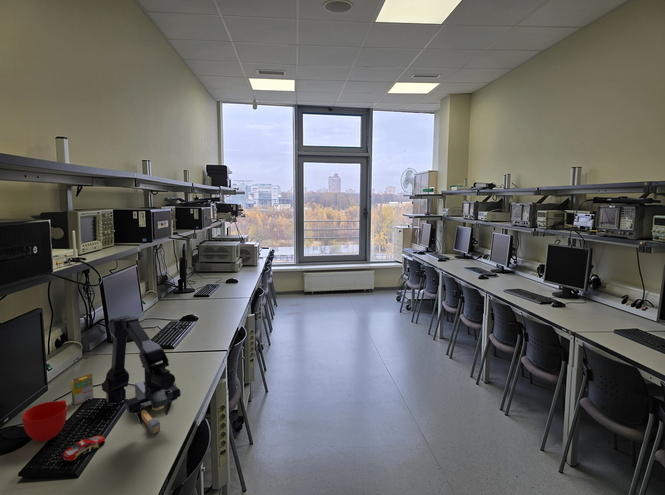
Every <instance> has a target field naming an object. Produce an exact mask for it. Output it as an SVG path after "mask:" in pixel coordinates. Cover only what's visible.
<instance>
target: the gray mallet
mask: <svg viewBox="0 0 665 495" xmlns="http://www.w3.org/2000/svg"><path fill="white" fill-rule="evenodd" d="M141 410H142V412H141V415H142V421H143V422H144V423H145V424H146V425H147V427H148V430H149V432H150V433H151V434H152V435H153V434H156V433H158V432H160V431H161V422H160V420H159V419H158V418H157V417H153V418H152V417H151V415H150V414H149V413H148V412H147V410H146V409H141Z"/></svg>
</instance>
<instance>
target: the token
mask: <svg viewBox="0 0 665 495" xmlns="http://www.w3.org/2000/svg"><path fill="white" fill-rule="evenodd" d="M163 409H165V406H161V407H159V408H153V405H152V404H151V410H152V411H155V412H156V411H161V410H163Z"/></svg>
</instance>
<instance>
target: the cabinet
mask: <svg viewBox="0 0 665 495" xmlns="http://www.w3.org/2000/svg"><path fill="white" fill-rule="evenodd" d="M144 382H145V380H142V381H138V382H135V384H134V391H135V392H134V394H135V397H137V399H138V400H140V399H143V398H145V395H144V392H145V385H144ZM173 385H175V386H176V387H177V383H176V381H175V382H174V384H173ZM147 406H148V407H149V406H152V403H151V402H148V403H145V404H142V405H141V408H140V409H142V408H145V407H147Z"/></svg>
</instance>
